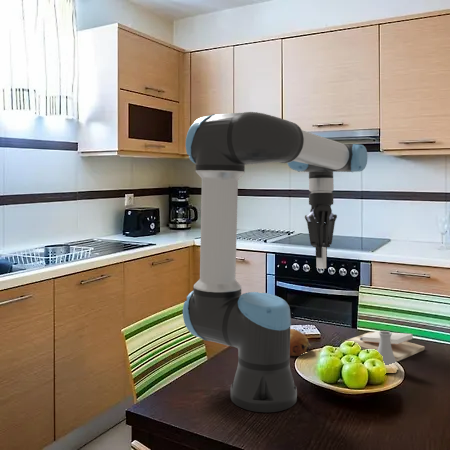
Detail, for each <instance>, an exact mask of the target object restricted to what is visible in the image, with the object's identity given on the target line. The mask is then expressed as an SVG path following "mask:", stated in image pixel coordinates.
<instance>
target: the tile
mask: <svg viewBox="0 0 450 450" xmlns="http://www.w3.org/2000/svg"><path fill="white" fill-rule="evenodd" d="M373 332H374V333H371V334H368V335H365V336H362V337H361V338H360V340H362V341H363V342H374V343H380V335H379V332H380V331H373ZM391 333H392V335H391V340H390V341H391V344H396V345H398V344H400V343H403V342H405V341H407V342H409V341H410V340H412V339H413V338H414V337H413V333H402V332H391Z"/></svg>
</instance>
